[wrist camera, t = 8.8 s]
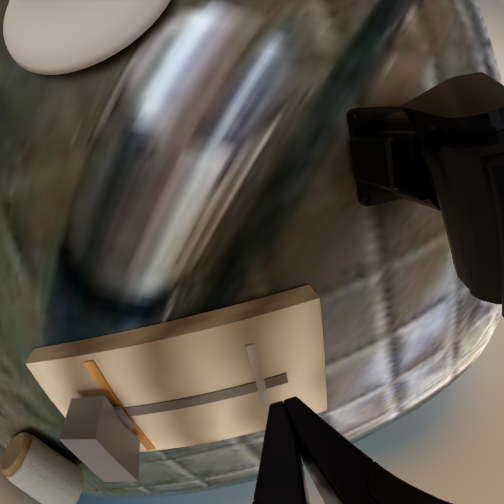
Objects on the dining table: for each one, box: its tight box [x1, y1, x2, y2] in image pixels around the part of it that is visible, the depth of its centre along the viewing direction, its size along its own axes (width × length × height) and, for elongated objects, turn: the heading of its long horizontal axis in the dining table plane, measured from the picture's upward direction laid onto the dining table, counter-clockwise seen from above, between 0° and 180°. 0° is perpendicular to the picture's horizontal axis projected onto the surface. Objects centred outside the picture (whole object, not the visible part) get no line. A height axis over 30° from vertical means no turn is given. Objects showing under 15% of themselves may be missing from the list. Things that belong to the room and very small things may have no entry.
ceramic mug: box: [1, 432, 83, 504], centre depth 19 cm, size 11×8×8 cm
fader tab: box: [60, 395, 140, 482], centre depth 17 cm, size 4×6×4 cm, turn 11°
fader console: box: [26, 285, 327, 452], centre depth 21 cm, size 22×12×2 cm, turn 101°
